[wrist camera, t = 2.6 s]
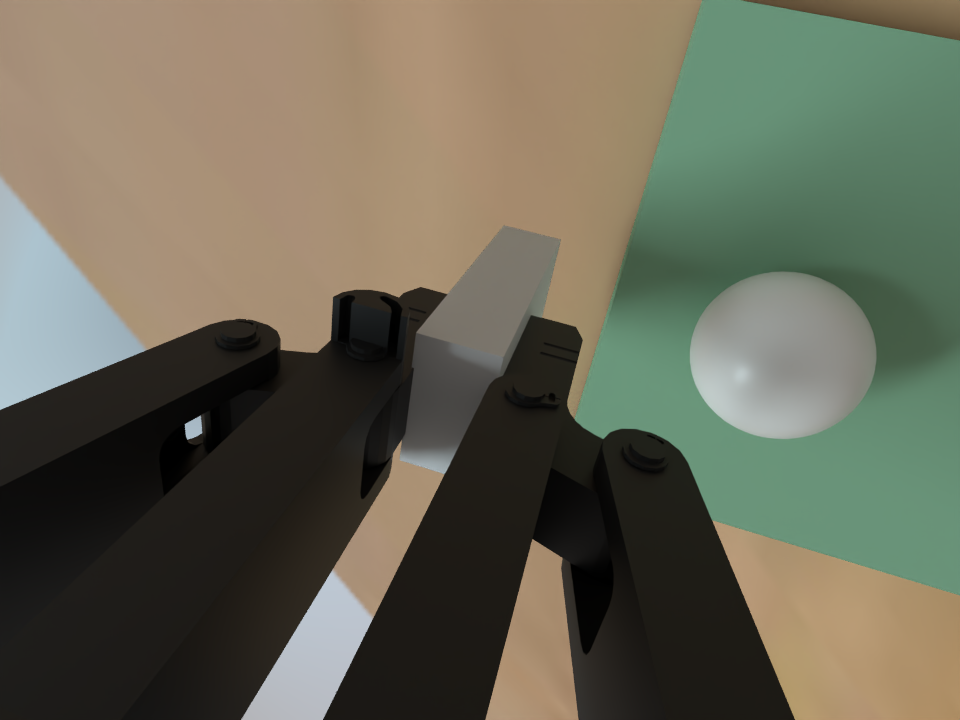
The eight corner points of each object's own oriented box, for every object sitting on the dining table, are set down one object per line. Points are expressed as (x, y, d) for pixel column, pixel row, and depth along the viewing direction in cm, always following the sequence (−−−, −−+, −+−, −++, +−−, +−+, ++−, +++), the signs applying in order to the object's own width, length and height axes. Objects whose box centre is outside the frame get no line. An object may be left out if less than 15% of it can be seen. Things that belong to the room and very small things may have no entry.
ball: (717, 232, 16) (732, 288, 12) (880, 271, 15) (944, 341, 12) (667, 364, 18) (668, 443, 14) (809, 402, 17) (845, 494, 14)
